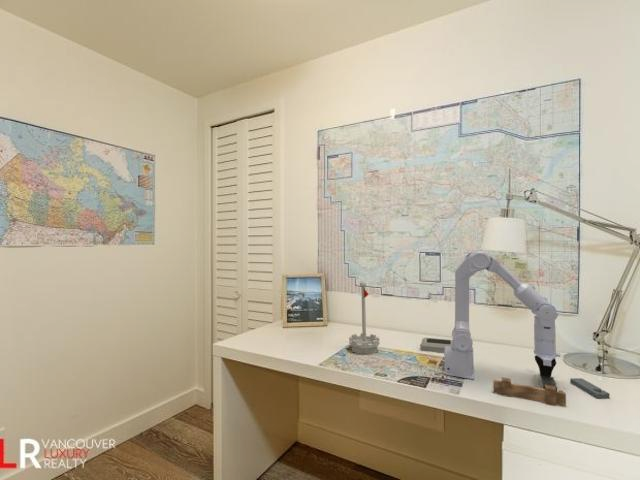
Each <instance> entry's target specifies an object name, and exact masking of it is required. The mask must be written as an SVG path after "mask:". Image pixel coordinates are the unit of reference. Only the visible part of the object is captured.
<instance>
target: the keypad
mask: <svg viewBox="0 0 640 480" xmlns="http://www.w3.org/2000/svg"><path fill="white" fill-rule="evenodd" d="M451 344H453V339H446V338H445V339H444V338H435V337H424V338H422V339H421V344H420V351H421V352H429V353H439V354H440V353H442V354H444V352H445V347H446V346H451Z"/></svg>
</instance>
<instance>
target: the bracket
mask: <svg viewBox="0 0 640 480" xmlns="http://www.w3.org/2000/svg"><path fill="white" fill-rule="evenodd" d="M569 382H570V384H571V385H573V386H575V387H576V388H578V389H580V390H581V391H583V392H584V393H586V394H588V395H590V396H591V397H593V398H594V399H597V400H605V399H606V400H608V399H610V392H608V391H606V390H604V389H602V388H601V387H599V386H596V385H595V384H593V383H591V382H589V381H587V380H586V379H584V378H583V377H581V378H578V377H577V378H570V381H569Z"/></svg>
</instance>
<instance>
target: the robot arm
mask: <svg viewBox="0 0 640 480" xmlns="http://www.w3.org/2000/svg"><path fill="white" fill-rule="evenodd" d="M484 270H486V271H487V272H490V273H495V274H496V275H497V276H499V277H500V278H501V280H503V281H504V282H505V283H506V284H508V285H509V286H510V287H511V288H512V289H513V296H514V297H516V298H517V300H518V301H520V302H521V303H522V304H523V305H524V306H525V307H526V308H527V309H529V310H530V311H531V313H532V314H534V321H533V322H534V323H533V333H534V337H533V340H534V341H533V342H534V343H533V344H534V348H533V354H534V360H535V362H536V364H537V367H538V371H539V374H540V375H542V376H548V377H552V373H553V371H554V368H555V367H556V365H557V361H556V360H557V359H556V358H557V357H558V358H561V353H559V352H557V348H556V347H557V345H556V344H557V341H556V336H557V335H556V320H557V318H558V316H559V312H558V311H557V308H556V307H555V306H554V305H552V304H551V302H550V303H549V301H548V298H547V297H546V296H542V295H541V294H540V292H538V291H537V290H536V289H537V288H536V286H534V285H532V284H529V283H523V282H521V281H520V280H519V279H518V278H516V276H515V275H514V274H513V273H512V272H511V271H509V269H507V268H506V267H505V266H504V265H503V264H502V263H501V262H500V261H498V260H497V259H496V258H494V257H493V256H491V255H489V254H488V253H487V252H486V251H483V250H481V249H475V250H472V251H471V252H469V253H468V254H466V255H465V257H464V258H463V260H462V261H461V262H460V264H459V265H458V266H457V267H456V269H455V273H454V279H455V280H454V283H455V285H454V328H453V330H452V332H451V337H452V340H453V344H451V346H446V347H445V352H444V353H443V358H444V359H443V360H444V363H443V365H444V366H443V367H444V375H447V376H452V377H458V378H463V379H469V380H475V375H476V372H477V370H476V369H474V366H475V365H474V347H473V339H472V336H471V332H470V278H471V277H472V276H475V274H476V273H478V272H481V271H484ZM540 375H539V376H540Z"/></svg>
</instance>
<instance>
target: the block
mask: <svg viewBox="0 0 640 480" xmlns="http://www.w3.org/2000/svg"><path fill="white" fill-rule="evenodd" d="M539 376H540V378H539V379H540V381H539V383H540V388H543V389H545V385H550V386H555V388H556V391H558V387H557V383H556V381H555V377H553V376H551V377H548V376H542V375H539Z"/></svg>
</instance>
